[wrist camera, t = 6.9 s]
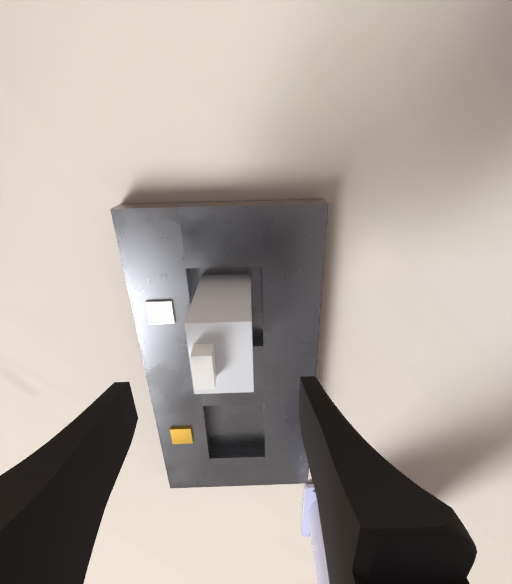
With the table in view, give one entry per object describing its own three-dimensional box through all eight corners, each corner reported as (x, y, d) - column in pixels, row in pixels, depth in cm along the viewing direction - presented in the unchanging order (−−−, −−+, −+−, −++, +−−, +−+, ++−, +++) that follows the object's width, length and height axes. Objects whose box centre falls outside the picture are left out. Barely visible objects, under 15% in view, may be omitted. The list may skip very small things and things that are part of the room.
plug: (250, 274, 21) (251, 332, 14) (252, 331, 23) (254, 406, 16) (201, 275, 21) (180, 334, 14) (207, 333, 23) (191, 408, 16)
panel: (322, 198, 19) (329, 203, 18) (304, 467, 29) (308, 485, 28) (120, 204, 19) (108, 209, 17) (173, 472, 29) (169, 490, 28)
